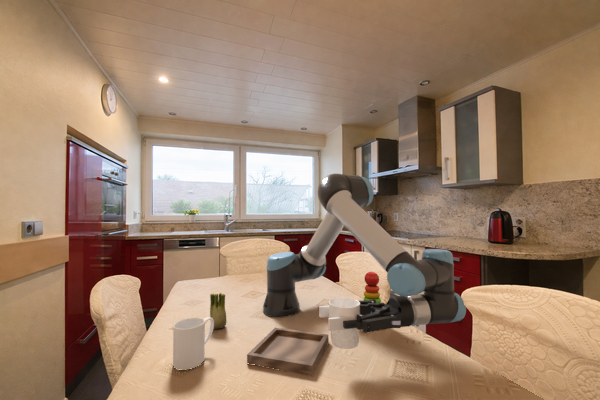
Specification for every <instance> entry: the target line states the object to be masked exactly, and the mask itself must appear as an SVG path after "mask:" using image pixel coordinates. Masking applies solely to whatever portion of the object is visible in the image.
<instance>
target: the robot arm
mask: <svg viewBox="0 0 600 400" xmlns="http://www.w3.org/2000/svg"><path fill="white" fill-rule="evenodd" d="M317 188H318V189H317V197H318V200H319V203H320V204H321V206H322V207H323V208H324V209H325V211H326V213H325V215H324V217H323V219H322V220H321V222H320V224H319V225H318V227H317V229H316V230H315V232H314V234H313V235H312V237H311V239H310V241H309V243H308V244H306V245H304V246H302V248H301V250H300V251H299V253H297V254H295V253H294V252H292V251H283V252H282V251H281V252H276V253H273V254H271V255H270V256H268V258H267V260H266V288H267V289H266V292H267V293H266V295H265V298H264V302H263V306H262V312H263V314H264V315H266V316H269V317H274V318H275V317H276V318H284V317H292V316H295V315H297V314H298V313H299V312H300V307H301V306H300V301H299V299H298V296H297V292H296V283H299V282H304V281H311V280H316V279H319V278H320V277H322V276H323V275H324V274H325V273H326V270H327V266H326V265H327V258H326V255H327V254H328V252H329V250H330V249H331V247H332V246H333V244H334V243H335V241H336V239H337V237H338V236H339V235H340V233H341V231H343V228H344V227H345V229H347V230H348V231H349V233H351V234H352V236H353V237H354V238H355V239H356V240H357V241H358V242H359V243H360V245H361V246H362V247H363V248H364V249H365V250H366V251H367V252H368V253H369V254H370V255H371V256H372V257H373V259H374V260H375V261H376V262H377V263H378V265H380V266H381V268H382V269H383V270H384V271H385V272H386V273H387V274H386V281H387V283H388V285H389V286H388V287H389V288H390V290H391V291H393V292H394V293H395V294H396V295H393V296H390V297H389V298H388V301H387V302H386V303H385V302H378V303H376V300H374V299H373V300H364V299H363V300H358V301H359V302H360V315H358V314H357V320H356V317H355V316H345V317H334V318H330V317H329V304H328V305H319V306H318V316H319V318H327V319H328V320H327V321H328V322H327V323H328V331H329V332H331V331H335V330H346V329H356V328H357V329H358V330H359V331H362V333H364V334H367V333H373V332H378V331H379V332H380V331H385V330H389V329H401V328H405V327H407V328H408V327H411V326H412V327H414V326H415V327H417V328H418V327H420V326H422V325H434V324H436V325H437V324H450V323H453V322H459V321H462V320H463V319H464V318H465V316H466V313H467V308H466V305H465V304H464V302H465V301H464V299H463V298H462V296H460V294H458V293H456V292H455V276H454V275H455V274H454V273H455V272H454V270H455V269H454V266H455V264H454V257H453V256H454V255H453V253H452V252H451V251H450V250H447V249H443V248H442V249H441V248H425V249H424V250H422V254H421V255H422V257H421V259H418V260H417V259H416V258H415V257H414V256H412V255H411V254H410V253H409V252H408V251H407V250H406V249H405V248H404V247H403V246H402V245H401V244H400V243H399V242H397V240H396V239H395V238H393V236H391V234H390V233H388V232H387V231H386V230H385V229H384V228H383V227H382V226H381V225H380V224H379V223H378V222H377V221H376V220H375V219H374V218H373V217H372V216H371V215H370V214H368V213H367V212H366V211H365V210H364V209H363V208H365V207H366V208H367V207H368V206H370V204H372V202H373V199H374V196H375V195H374V194H375V193H374V187H373V184H372V182H371V181H370V180H369V179H368V178H366V177H364V176H360V175H357V174H356V175H355V174H354V175H352V174H351V175H350V174H344V173H343V174H341V173H332V174H331V173H330V174H327V175H326V176H325V177H324V178H322V179H321V180H320V183H319V185H318V186H317ZM371 310H372V313H371ZM361 315H364V316H361ZM368 327H369V328H368Z"/></svg>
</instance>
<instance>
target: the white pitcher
mask: <svg viewBox="0 0 600 400" xmlns="http://www.w3.org/2000/svg"><path fill="white" fill-rule="evenodd" d="M208 321H210V322H209V323H210V325H209V330H208V331H207V332H208V333H207V335H206V336H205V332H206V329H205V328H206V326H205V325H206V324H205V323H207V322H208ZM172 329H173V330H172V331H173V333H172V334H173V337H172V338H173V339H172V340H173V341H172V342H173V343H172V346H173V347H172V349H173V350H172V367H173V366H174V367H175V368H177V369H182V370H185V369H190V368H194V367H196V368H198V367H199V366H198V365H200V364H201V363H202V362H203V361H204V362H205V345H206V344H207V343H208V341H209V340H210V338H211V336H212V334H213V331H214V330H215V329H214V320H213V318H211V317H210V316H207V317H205V318H201V317H189V318H184V319H181V320H178V321H177V322H175V323H174V324H173V328H172ZM204 362H203V363H204ZM203 363H202V364H203ZM202 364H201V365H202ZM201 365H200V366H201ZM197 366H198V367H197ZM174 367H173V368H174ZM194 369H195V368H194Z"/></svg>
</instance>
